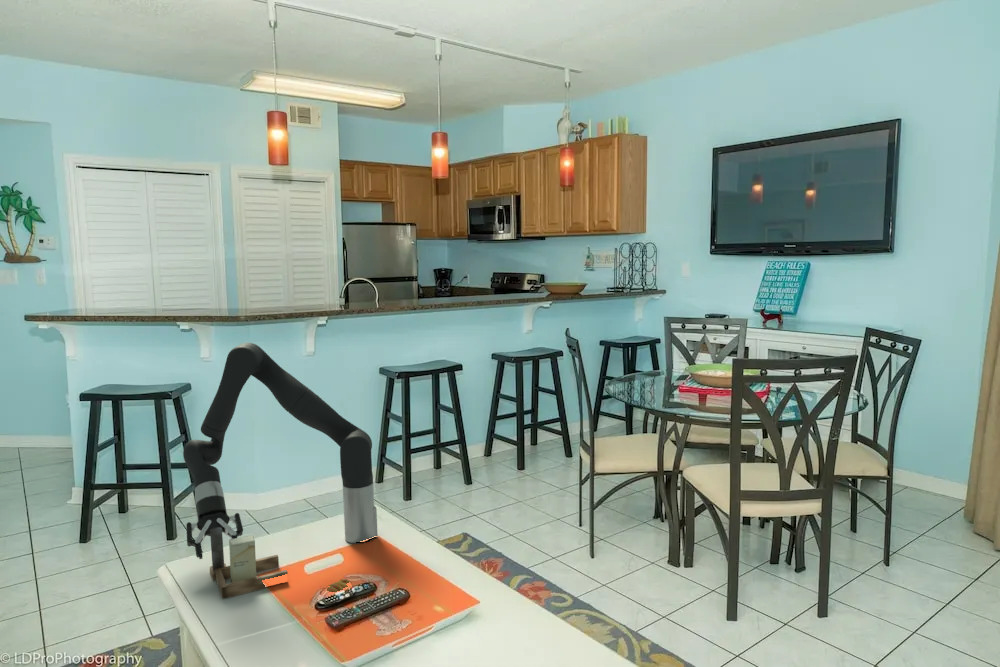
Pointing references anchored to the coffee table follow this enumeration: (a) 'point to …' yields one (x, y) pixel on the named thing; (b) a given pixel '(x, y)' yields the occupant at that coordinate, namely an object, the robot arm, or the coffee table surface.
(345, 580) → the pastry
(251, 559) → the skincare box
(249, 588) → the brown frame
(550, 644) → the coffee table surface
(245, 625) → the coffee table surface
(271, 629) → the coffee table surface
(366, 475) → the robot arm
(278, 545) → the coffee table surface
